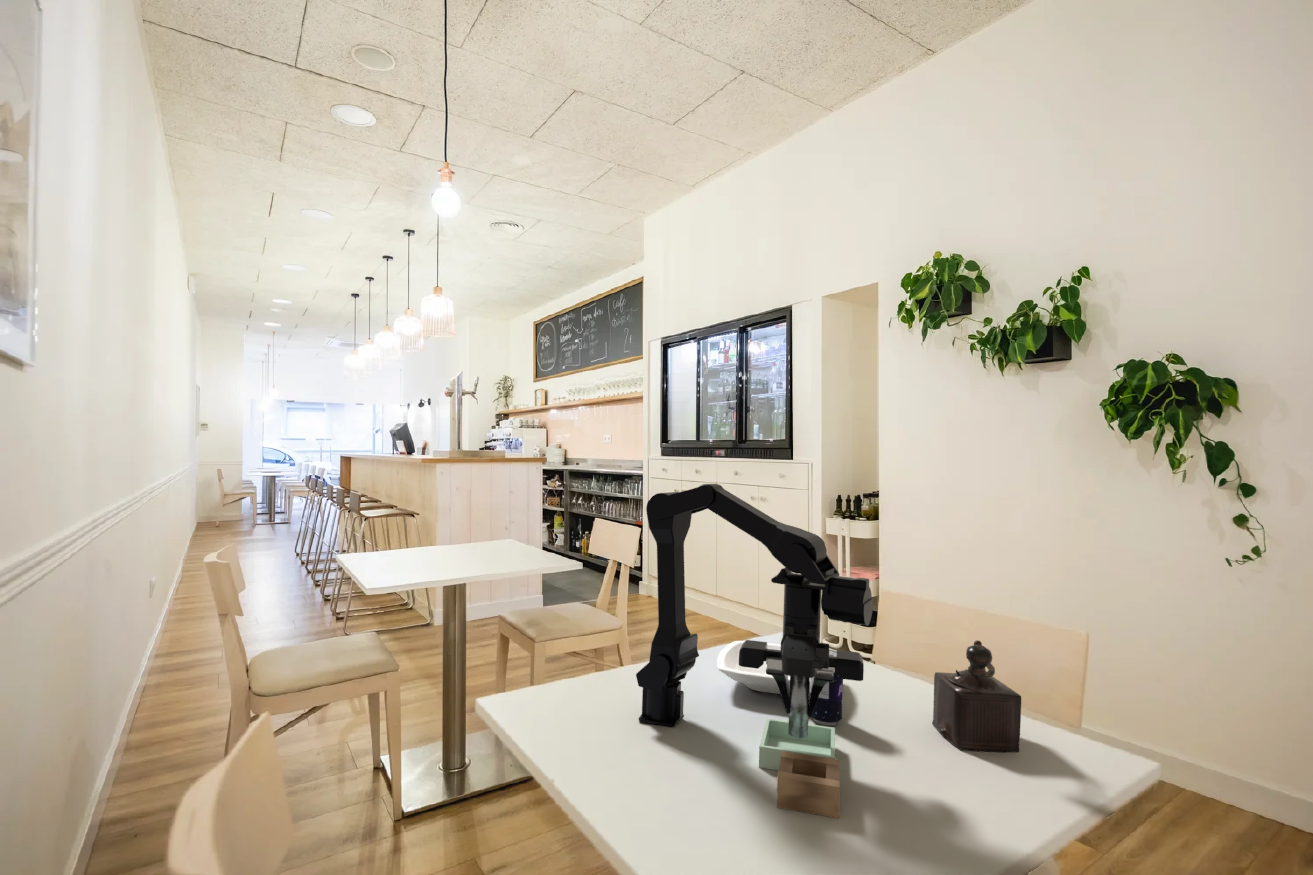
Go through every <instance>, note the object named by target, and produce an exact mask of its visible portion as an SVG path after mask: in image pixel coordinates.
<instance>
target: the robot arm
mask: <svg viewBox="0 0 1313 875" xmlns="http://www.w3.org/2000/svg"><path fill="white" fill-rule="evenodd" d="M705 510H709V511H710V512H712V513H713V514H716V515H717V516H719V517H720V518H722V519H723V520H725V521H726V522H728V523H729V524H730V525H733V526H735V527H736V528H738V529H739V530H741V531H742V532H744V533H745V534H747V535H748V536H751V537H752V538H753V539H755V540H757V541H759V542H760V543H761V544H762V545H764V547H765V548H766V549H767V551H769V553H770V554H771V556H772V557H773V558H775V559H776V560H777V561H778V562H779V563H780V564H781V565H782V566H783V568H781V569H780V571H779V572H778V573H777V574H776V575H775V576H773V577H772V578H771V583H773V584H778V585H784V586H783V588H784V589H783V592H784V593H783V616H782V638H781V640H780V641H781V642H780V644H781V650H773V649H767V643H768V642H767V641H760V640H753V639H752V640H748V639H746V640H744V641H745V642H744V643H743V644H742V646H741V648H740V651H739V665H740V666H742V667H749V668H757V669H758V668H759V667H761V666H762V665H763V664H764V661H766V664H767V668H766V674H768V675H772V676H773V678H774V679H775V681H776V683H777V685H778V687H779V690H780V693H781V694H780V697H781V699H782V703H783V706H784V710H785V713H786V714H787V715H789V684H788V676H792V675H797V676H804V677H805V678H812V677H813V682H812V688H811V694H810V693H809V709H808V718H812V717H811V715H812V713H813V710H814V707H815V705H816V702H817V699H818V697H819V694H820V692H821V690H822V689H823V687H824V685H825V684H826V683H827V682H830V683H831V682H834V672H835V670H837V674H838V675H839V676H840V677H841V679H843V680H848V681H854V682H855V681H856V682H861V681H864V672H865V670H864V667H865V666H864V659H863V656H862V654H861V653H860V652H858V651H851V650H849V651H848V650H840V649H836V651H837V653H836V657H834V656H829V650H830V643H823V642H821V620H822V619H821V618H822V616H821V614H822V612H823V614H824V616H827V618H828V619H829V620H831V621H836V622H843V623H850V624H854V625H861V626H867V627H868V626H869V625H870V623H871V621H872V620H871V619H872V615H873V610H874V609H873V608H874V598H873V597H872V590H871V587H870V579H869V578H865V577H857V578H856V577H847V576H840V573H839V571H838V569H837V568H836V566H835V565H834V563H833V562H832V560H831V559H830V557H829V555H827V554H828V553H827V552H828V551H827V547H826V542H825V541H824V540H823V538H822V537H820V536H819V535H817V534H816V533H813V532H810V531H808V530H805V529H803V528H801V527H797V526H793V525H789V524H786V523H783V522H780V521H778V520H776V519H774V518H773V517H772V516H769V515H768V514H766V513H764V512H763V511H761V510H759V509H758V508H757V507H755V506H753V505H751V504H750V503H748V502H747V501H745V500H743V499H741V498H740V497H738V496H736V495H735V494H733V493H731V492H730V491H728V490H726V489H725V488H724V487H723V486H722V485H721V484H718V483H704V484H701V485H699V486H697V487H694V488H690V489H688V490H687V489H686V490H684V491H672V492H670V491H669V492H660V493H658V492H657V493H655V494H653V495H652V496H651V498H650V499H648V500H647V503H646V508H645V512H646V516H647V523H648V528H649V531H650V532H651V535H652V537H653V539H654V542H655V543H656V565H657V566H656V569H657V571H656V572H657V573H656V574H657V575H656V576H657V615H658V616H657V619H658V620H657V623H658V624H657V628H656V631H655V633H654V636H653V638H652V641H651V645H650V651H649V652H650V653H649V660H648V661H649V662H647V664H645V666H643V667H642V668H641V669H640V670H639V671H638V672H636V674H635V678H636V683H637V685H638V687H640V688H642V697H641V698H642V700H641V701H642V702H641V703H642V704H641V714H640V716H639V717H638V722H639V723H640V722H641V723H646V724H652V725H653V724H654V725H660V726H665V727H666V726H667V727H676V725H677V724H678V722H679V721H680V719H681V718H682V717H683V715H684V701H685V700H684V698H685V691H683V690H682V680H684V679H685V678H686V676H687V674H688V672H689V671H691V669H693V667H694V666H695V664H696V660H697V658H699V657H700V654H699V650H698V639H699V637H698V633H691V632H690V630H689V627H688V626H687V623H686V584H685V583H686V582H685V579H686V578H685V540H686V538H687V536H688V533H689V531H690V527H691V523H692V522H691V521H692V517H693V516H692V515H693V514H696V513H700V512H702V511H705ZM821 611H822V612H821Z"/></svg>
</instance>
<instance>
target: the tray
mask: <svg viewBox="0 0 1313 875" xmlns="http://www.w3.org/2000/svg"><path fill="white" fill-rule="evenodd" d="M788 725H789V720H788V721H787V720H781V719H773V718H767V717H766V718H765V722H764V726H763V730H762V735H761V739H760V742H759V748H758V749H759V750H758V768H760V769H768V770H773V771H779V766H780V760H781V754H782V751H784V752H791V753H797V754H804V755H811V756H817V757H824V758H830V759H836V727H831V726H826V725H819V724H818V725H817V724H809V723H808V736H807V737H806V738H795V737H792V736H790V735H789V734H788Z"/></svg>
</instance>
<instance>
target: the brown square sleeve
mask: <svg viewBox="0 0 1313 875" xmlns="http://www.w3.org/2000/svg"><path fill="white" fill-rule="evenodd" d="M777 773H778V774H777V779H776V780H777V783H776V787H777V788H776V808H777V809H783V810H784V809H785V810H790V811H794V812H795V811H796V812H800V813H807V814H813V815H819V816H824V817H830V818H835V819H839V818H840V791H841V790H840V789H841V785H840V782H841V781H840V780H841V779H840V777H841V776H840V760H839V759H837V758H835V759H830V758H824V757H817V756H811V755H804V754H797V753H791V752H784V751H782V754H781V760H780V766H779V770H778V772H777Z"/></svg>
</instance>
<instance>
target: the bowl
mask: <svg viewBox="0 0 1313 875" xmlns="http://www.w3.org/2000/svg"><path fill="white" fill-rule="evenodd" d="M745 641H746V640H734V641H732V642H731V643H729V644H727V645H726V646H725V647H724V648H723V649H722V650H721V651H720V652H719V654H718V656H717V659H716V665H717V670H718V671H720V672H721V673H722V674H724V675H725V676H727V677H728V678H730V679H731V680H733V681H735V682H739V683H742V684H744V685H745V686H746V687H747V688H749V689H750V690H753V691H757V692H763V693H770V694H777V695H781V693H780V690H779V687H778V685H777V683H776V681H775V679H774V678H773V676H772V675H768V674H766V668H767V664H766V661H764V664H763V665H762V666H761V667H759V668H758V669H757V668H749V667H742V666H740V665H739V651H740V648H741V646H742V644H743V643H744V642H745ZM767 649H773V650H781V643H780V644H779V643H771V642H767ZM788 684H789V695H790V676H788ZM809 692H810V685H809Z"/></svg>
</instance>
